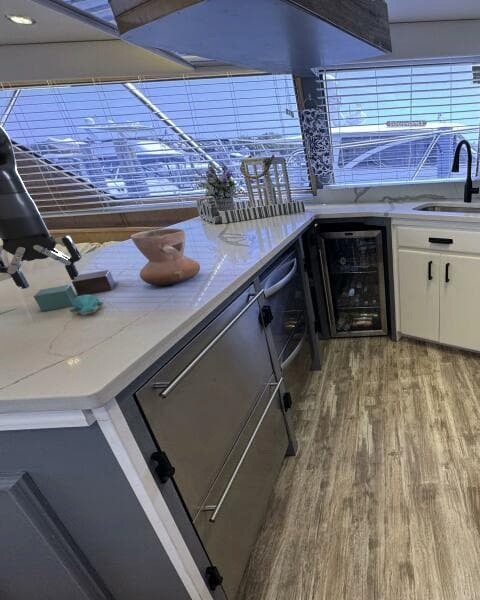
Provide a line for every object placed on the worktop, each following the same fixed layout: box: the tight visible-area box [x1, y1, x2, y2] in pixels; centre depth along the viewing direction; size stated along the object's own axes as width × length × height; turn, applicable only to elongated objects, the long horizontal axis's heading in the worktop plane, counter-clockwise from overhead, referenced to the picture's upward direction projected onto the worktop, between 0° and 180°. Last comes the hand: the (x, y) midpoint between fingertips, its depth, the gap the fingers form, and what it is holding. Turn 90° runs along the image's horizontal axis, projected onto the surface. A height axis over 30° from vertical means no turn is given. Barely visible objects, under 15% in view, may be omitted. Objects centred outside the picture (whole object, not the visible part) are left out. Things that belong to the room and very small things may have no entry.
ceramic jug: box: [130, 228, 201, 286], centre depth 91 cm, size 18×14×14 cm
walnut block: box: [71, 269, 116, 297], centre depth 89 cm, size 7×7×4 cm
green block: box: [33, 284, 78, 313], centre depth 79 cm, size 6×6×4 cm
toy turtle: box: [69, 294, 105, 316], centre depth 74 cm, size 6×7×4 cm
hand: (50, 283), depth 77 cm, fingers open, 8 cm apart
